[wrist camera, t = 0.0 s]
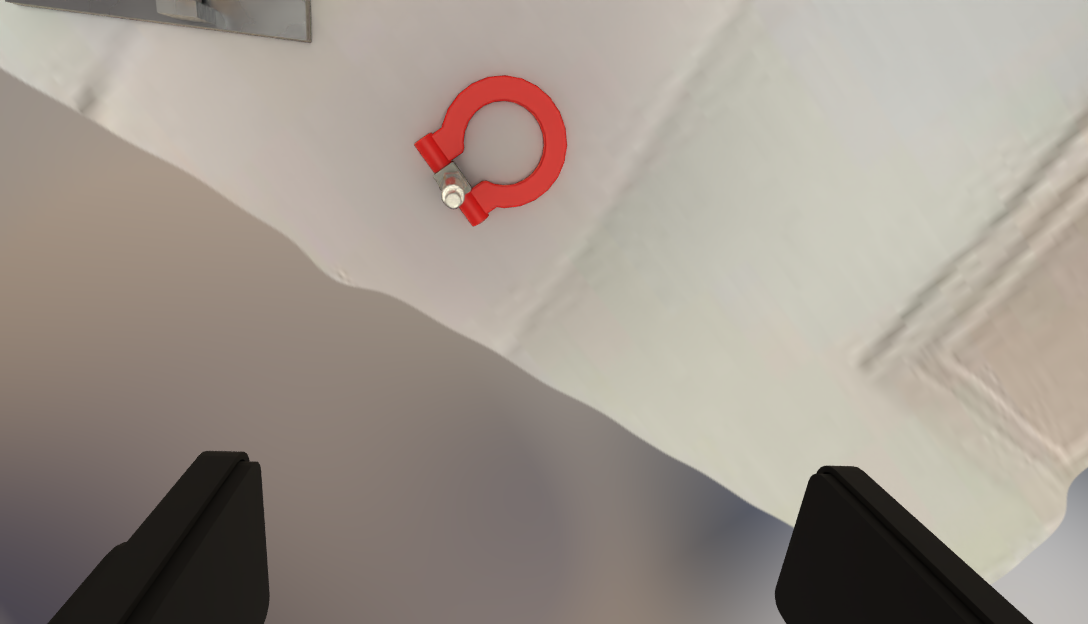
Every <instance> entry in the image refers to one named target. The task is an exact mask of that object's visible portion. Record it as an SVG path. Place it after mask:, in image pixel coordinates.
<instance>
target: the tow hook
mask: <svg viewBox="0 0 1088 624" xmlns="http://www.w3.org/2000/svg"><path fill="white" fill-rule="evenodd" d="M497 101H508V102H514V103H516V104H519V105H521V106H523V107H525V108H526V109H527V110H528V111H529V112H530V113H532V114H533V116H534V117H535V119H536V120H537V121H538V123H539V125H540V128H541V131H542V133H543V142H544V147H543V154H542V157H541V160H540V162H539V165H538V166H537V168H536V169H535V170H534V171H533V173H532V174H531V175H529V176H528V177H527V178H526V179H524V180H522V181H520V182H518V183H515V184H510V185H499V184H493V183H491V182H489V181H481V182H480V183H478V184H477V185H476V186H474V187H473V188H471V186H470V184H469V183H468V181H467V180H466V178H465V177H464V176H463V174H462V173H461V171H460V170H459V168H458V167H457V166H456V164H455V163H454V162H453V161H451V160H453V159H454V158H455V157H457V156H458V155H460V154H461V153H463V150H464V134H465V130H466V127H467V124H468V122H469V120H470V119H471V118H472V116H473V115H474V113H475V112H476V111H478V110H479V109H480V108H481V107H483V106H485V105H487V104H489V103H492V102H497ZM414 145H415V147H416V148H417V150H418V151H419V152H420V154H421V155H422V156H423V158H424V159H425V161H426V162H427V163H428V165H429V166H430V168H431V169H432V170H433V172H434V173H435V174H434V176H433V177H434V179H435V180H436V181H437V183H438V184H439V188H440V190H441V191H442V193H441V198H442V201H443V203H444V204H445V205H446V206H448V207H449V208H451V209H457V208H458V207H459V208H460V209H461V211H462V212H463V214H464V215H465V216H466V218H467V219H468V221H469V222H470V223H471V225H472V226H476V225H478V224H480V223H481V222H483V221H484V220H485V219H486V218H487V217H488V216H489V214H488V213H489V212H490V211H492V210H493V209H495V208H496V207H501V208H509V207H517V206H522V205H524V204H527V203H529V202H531V201H534V200H536V199H537V198H538V197H540V196H541V195H542V194H544V193H545V192H546V191H547V190H548V189H549V188H550V187H551V185H552V184H553V183H554V182H555V180H556V179H557V178H558V176H559V173H560V171H561V169H562V166H563V164H564V161H565V155H566V148H567V141H566V129H565V126H564V123H563V120H562V117H561V114H560V112H559V110H558V109H557V107H556V106H555V104H554V103H553V101H552V100H551V98H550V97H549V96H548V95H547V94H545V93H544V92H543V91H542V90H541V89H540V88H539V87H538V86H536V85H534V84H532V83H530V82H528V81H526V80H524V79H522V78H516V77H511V76H506V75H504V76H494V77H487V78H484V79H482V80H480V81H477V82H475V83H472V84H471V85H470V86H468V87H467V88H466V89H465V90H463V91H462V92H461V93H459V94H458V96H457V97H456V98H455V100H454V101H453V103H452V104H451V105H450V107H449V108H448V111H447V113H446V116H445V119H444V121H443V124H442V128H440V129H439V130H437V131H436V132H435V133H433V134H432V133H429V134H427V135H426V136H424V137H423V138H421V139H420V140H419V141H417V142H416V143H415V144H414Z"/></svg>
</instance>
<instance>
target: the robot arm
mask: <svg viewBox="0 0 1088 624" xmlns="http://www.w3.org/2000/svg"><path fill="white" fill-rule="evenodd" d="M775 600H776V605H777V608H778V610H779V612H780V614H781V616H782V617H783V619H784V621H785V622H786V624H1033V623H1032V622H1030V621H1029V620H1028V619H1027V618H1026V617H1025V616H1024V615H1023V614H1022V613H1021V612H1019V611H1018V610H1017V609H1016V608H1015V607H1014V606H1013V605H1012V604H1010V603H1009V602H1008V601H1007V600H1006V599H1005V598H1004V597H1003V596H1002V595H1000V594H999V593H998V592H997V591H996V590H995V589H994V588H993V587H992V586H991V585H989V584H988V583H987V582H986V581H985V580H984V579H983V578H982V577H981V576H979V575H978V574H977V573H976V572H975V571H974V570H973V569H972V568H971V567H969V566H968V565H967V564H966V563H965V562H964V561H963V560H962V559H961V558H959V557H958V556H957V555H956V554H955V553H954V552H953V551H952V550H950V549H949V548H948V547H947V546H946V545H945V544H944V543H943V542H942V541H940V540H939V539H938V538H937V537H936V536H935V535H934V534H933V533H932V532H930V531H929V530H928V529H927V528H926V527H925V526H924V525H923V524H922V523H920V522H919V521H918V520H917V519H916V518H915V517H914V516H913V515H912V514H910V513H909V512H908V511H907V510H906V509H905V508H904V507H903V506H902V505H900V504H899V503H898V502H897V501H896V500H895V499H894V498H893V497H892V496H890V495H889V494H888V493H887V492H886V491H885V490H884V489H883V488H882V487H880V486H879V485H878V484H877V483H876V482H875V481H874V480H873V479H872V478H870V477H869V476H868V475H867V474H866V473H865V472H864V471H863V470H861V469H859V468H858V467H853V466H823V467H821V468H820V469H819V470H818V471H817V473H816V474H814V475H812V476H811V477H810V479H809V481H808V485H807V488H806V491H805V494H804V498H803V501H802V504H801V507H800V511H799V514H798V517H797V520H796V524H795V527H794V530H793V533H792V537H791V540H790V543H789V547H788V550H787V553H786V556H785V559H784V563H783V566H782V569H781V572H780V576H779V579H778V582H777V585H776V589H775ZM268 606H269V581H268V566H267V551H266V536H265V521H264V507H263V493H262V478H261V467H260V464H259V463H258V462H249V457H248V455H247V453H245V452H231V451H205V452H202V453H201V454H200V455H199V456H198V457H197V459H196V460H195V461H194V462H193V463H192V464H191V466H190V467H189V468H188V469H187V471H186V472H185V473H184V474H183V475H182V476H181V478H180V479H179V480H178V481H177V482H176V484H175V485H174V486H173V487H172V488H171V490H170V491H169V492H168V493H167V495H166V496H165V497H164V498H163V499H162V500H161V502H160V503H159V504H158V505H157V507H156V508H155V509H154V510H153V511H152V513H151V514H150V515H149V516H148V517H147V518H146V520H145V521H144V522H143V523H142V524H141V526H140V527H139V528H138V529H137V530H136V532H135V533H134V534H133V535H132V537H131V538H130V539H129V540H128V541H127V542H124V543H122V544H120V545H117V546H116V547H114V548H113V549H112V550H111V551H110V552H109V553H108V554H107V555H106V556H105V557H104V558H103V559H102V561H101V562H100V563H99V564H98V565H97V566H96V568H95V569H94V570H93V571H92V573H91V574H90V575H89V576H88V577H87V578H86V579H85V581H84V582H83V583H82V584H81V585H80V586H79V587H78V589H77V590H76V591H75V592H74V593H73V595H72V596H71V597H70V598H69V599H68V600H67V602H66V603H65V604H64V605H63V606H62V607H61V609H60V610H59V611H58V612H57V613H56V615H55V616H54V617H53V618H52V619H51V620H50V621H49V623H48V624H264V622H265V619H266V615H267V612H268Z"/></svg>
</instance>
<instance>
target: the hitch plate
mask: <svg viewBox="0 0 1088 624" xmlns="http://www.w3.org/2000/svg"><path fill="white" fill-rule="evenodd" d="M5 1H6V2H10V3H13V4H17V5H23V6H31V7H38V8H46V9H54V10H62V11H69V12H77V13H85V14H93V15H101V16H108V17H116V18H124V19H132V20H139V21H147V22H155V23H163V24H171V25H178V26H186V27H194V28H202V29H209V30H217V31H225V32H233V33H240V34H248V35H256V36H264V37H272V38H279V39H287V40H295V41H303V42H310V43H311V16H310V0H202V3H199V2H197V1H192V0H5Z"/></svg>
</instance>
